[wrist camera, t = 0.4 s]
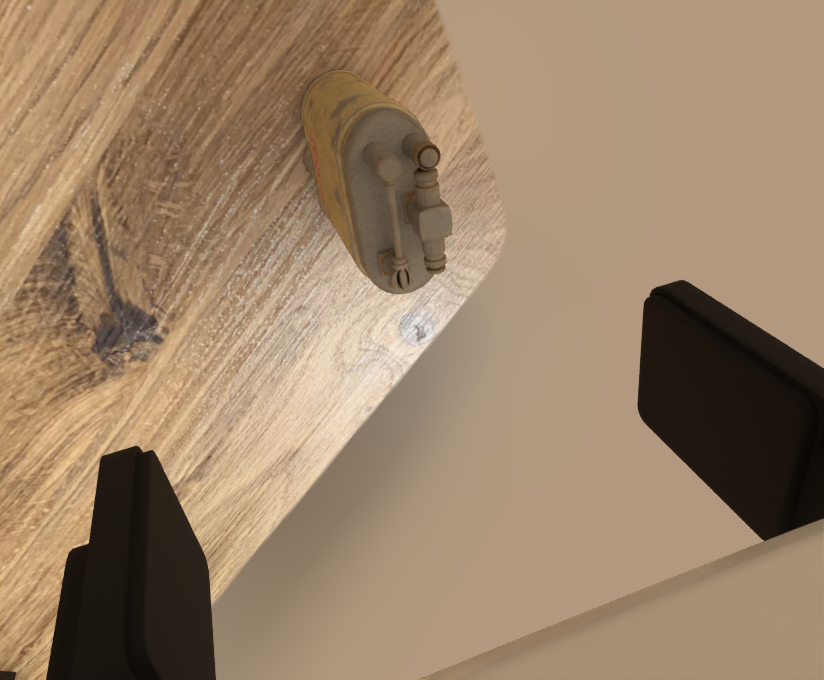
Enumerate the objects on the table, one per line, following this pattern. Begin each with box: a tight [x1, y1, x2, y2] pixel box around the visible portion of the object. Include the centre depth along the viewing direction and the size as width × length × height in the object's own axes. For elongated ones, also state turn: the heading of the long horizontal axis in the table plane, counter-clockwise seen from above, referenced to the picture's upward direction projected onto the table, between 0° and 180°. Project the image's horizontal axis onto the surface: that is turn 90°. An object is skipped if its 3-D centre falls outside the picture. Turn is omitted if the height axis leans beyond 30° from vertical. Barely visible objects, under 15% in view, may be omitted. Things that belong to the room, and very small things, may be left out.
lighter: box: [301, 70, 453, 294], centre depth 26 cm, size 7×4×10 cm, turn 7°
